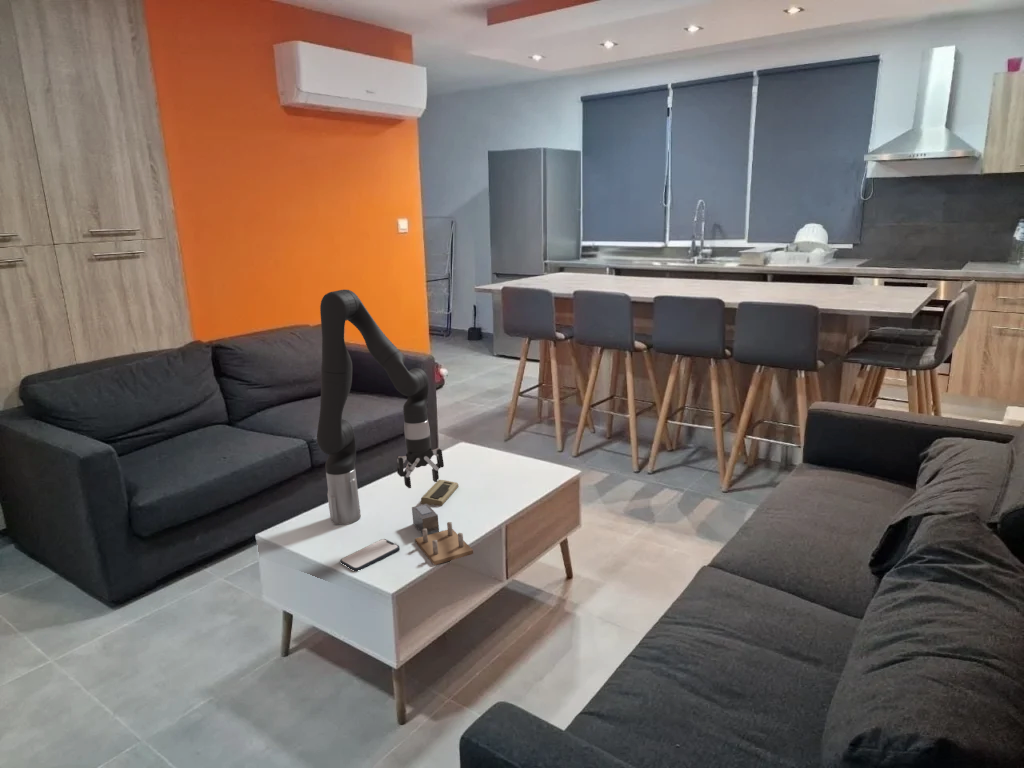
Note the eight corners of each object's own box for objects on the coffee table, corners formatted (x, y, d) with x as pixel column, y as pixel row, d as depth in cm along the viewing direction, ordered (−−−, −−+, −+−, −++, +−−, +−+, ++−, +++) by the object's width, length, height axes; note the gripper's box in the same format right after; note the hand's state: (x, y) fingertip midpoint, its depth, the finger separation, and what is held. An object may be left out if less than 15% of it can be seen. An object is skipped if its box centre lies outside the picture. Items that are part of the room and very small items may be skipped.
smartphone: (356, 574, 186) (401, 551, 197) (355, 569, 186) (401, 546, 197) (338, 564, 192) (383, 542, 203) (337, 559, 191) (383, 537, 203)
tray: (434, 565, 187) (432, 548, 186) (415, 542, 201) (413, 526, 200) (473, 553, 193) (472, 537, 191) (452, 532, 206) (450, 516, 205)
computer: (442, 507, 225) (442, 498, 225) (420, 505, 228) (419, 496, 227) (459, 488, 240) (458, 480, 239) (438, 487, 242) (437, 478, 242)
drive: (424, 537, 205) (422, 518, 203) (413, 524, 213) (411, 506, 212) (439, 532, 207) (437, 514, 205) (428, 520, 215) (426, 502, 214)
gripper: (398, 442, 196) (404, 493, 200) (444, 433, 202) (448, 483, 206) (391, 435, 202) (396, 485, 206) (435, 426, 209) (439, 475, 213)
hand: (422, 484), depth 206 cm, fingers open, 8 cm apart
